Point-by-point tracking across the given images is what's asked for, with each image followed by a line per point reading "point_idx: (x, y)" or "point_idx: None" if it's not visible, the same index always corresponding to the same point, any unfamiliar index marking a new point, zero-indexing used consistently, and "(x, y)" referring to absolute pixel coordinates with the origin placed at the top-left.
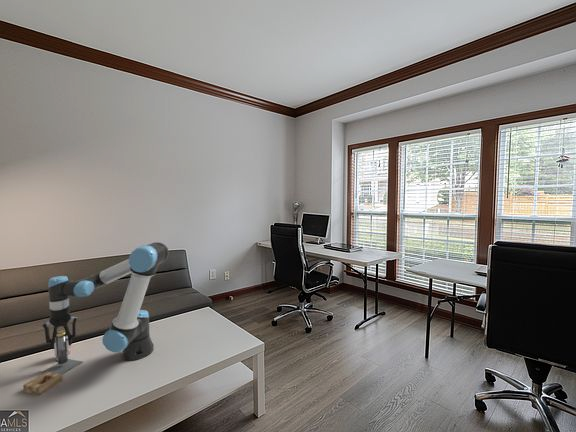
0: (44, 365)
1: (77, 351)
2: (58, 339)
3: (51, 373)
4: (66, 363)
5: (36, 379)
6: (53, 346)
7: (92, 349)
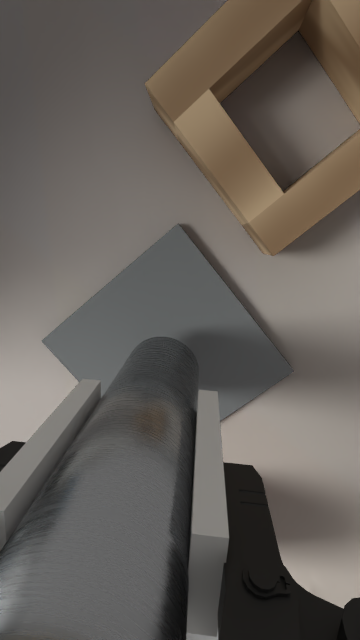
0: (286, 470)
1: None
2: (123, 596)
3: (237, 187)
4: None
5: (355, 150)
6: (238, 497)
7: None
